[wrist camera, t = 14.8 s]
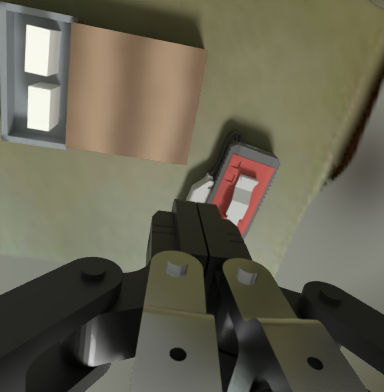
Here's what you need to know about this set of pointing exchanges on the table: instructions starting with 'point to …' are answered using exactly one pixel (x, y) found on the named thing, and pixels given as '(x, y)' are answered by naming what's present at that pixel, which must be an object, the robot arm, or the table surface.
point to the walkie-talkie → (237, 182)
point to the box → (30, 74)
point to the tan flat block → (132, 94)
